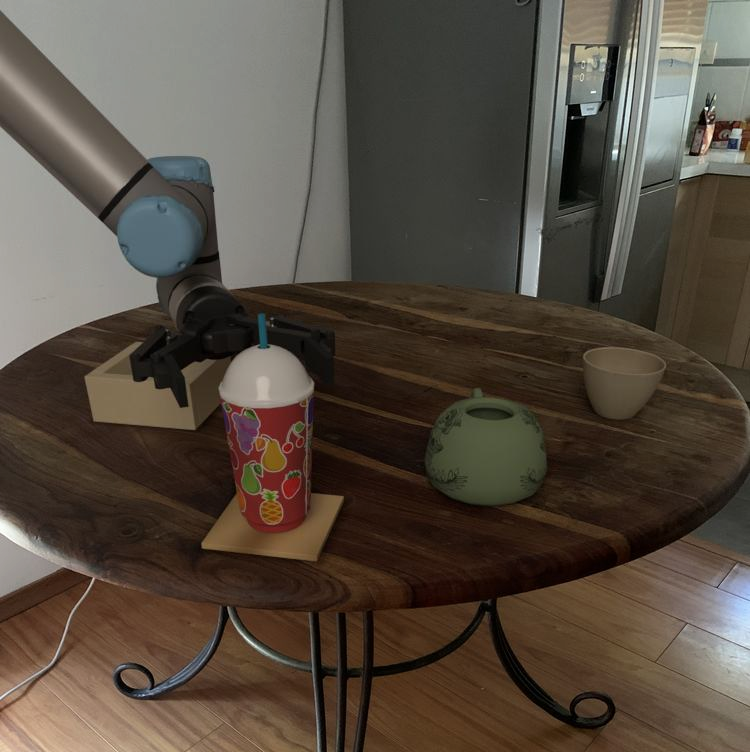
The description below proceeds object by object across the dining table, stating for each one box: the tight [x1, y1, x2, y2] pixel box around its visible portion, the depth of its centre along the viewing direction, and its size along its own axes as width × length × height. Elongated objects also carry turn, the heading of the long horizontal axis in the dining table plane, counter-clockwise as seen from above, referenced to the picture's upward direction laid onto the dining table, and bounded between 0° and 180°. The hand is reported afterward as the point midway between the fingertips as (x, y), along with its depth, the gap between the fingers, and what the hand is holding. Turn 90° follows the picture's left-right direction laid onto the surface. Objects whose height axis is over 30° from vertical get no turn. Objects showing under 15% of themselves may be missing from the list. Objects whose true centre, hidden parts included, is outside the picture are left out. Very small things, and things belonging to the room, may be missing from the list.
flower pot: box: [582, 346, 667, 421], centre depth 94 cm, size 10×10×7 cm
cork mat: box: [201, 492, 345, 562], centre depth 72 cm, size 11×11×1 cm
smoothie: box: [218, 313, 315, 533], centre depth 66 cm, size 8×8×20 cm
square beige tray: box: [84, 341, 232, 431], centre depth 95 cm, size 14×14×6 cm
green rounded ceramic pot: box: [423, 387, 548, 508], centre depth 78 cm, size 16×13×9 cm
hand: (259, 382), depth 66 cm, fingers open, 13 cm apart
